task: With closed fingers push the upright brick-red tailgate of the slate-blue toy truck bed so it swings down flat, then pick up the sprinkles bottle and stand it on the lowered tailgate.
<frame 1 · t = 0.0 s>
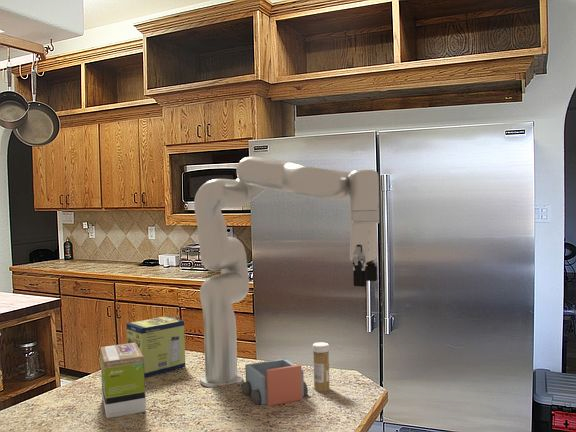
hand: (365, 283, 138), 31 cm above the countertop, tool pointing down, fingers open, 9 cm apart
protein box: (156, 370, 170), on the countertop
tea box: (123, 406, 140), on the countertop
tailgate: (284, 384, 138), point 5 cm above the countertop, hinge at 0.0°
truck bed: (274, 396, 144), on the countertop
sprinkles bottle: (321, 392, 147), on the countertop
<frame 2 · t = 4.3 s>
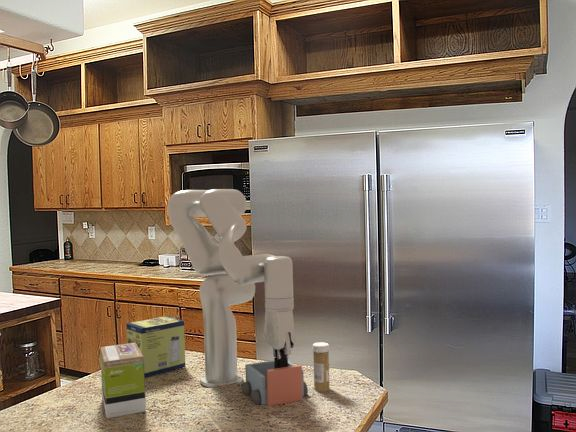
hand: (281, 372, 140), 8 cm above the countertop, tool pointing down, fingers closed
tailgate: (284, 385, 138), point 5 cm above the countertop, hinge at 1.9°, touching gripper
everything else where it was.
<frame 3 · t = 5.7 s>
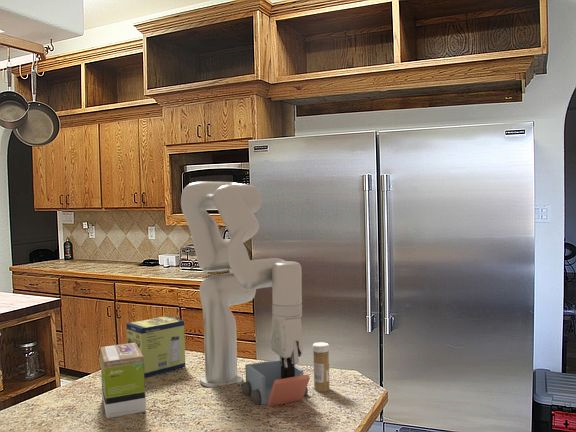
hand: (287, 381, 135), 7 cm above the countertop, tool pointing down, fingers closed
tailgate: (288, 390, 135), point 5 cm above the countertop, hinge at 33.7°, touching gripper
everything else where it was.
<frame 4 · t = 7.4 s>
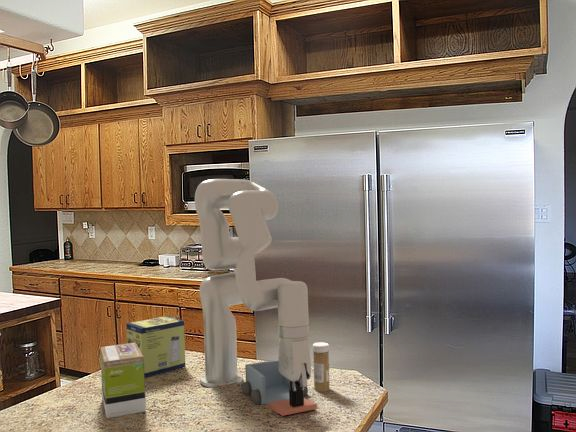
hand: (296, 405, 131), 2 cm above the countertop, tool pointing down, fingers closed
tailgate: (292, 405, 134), point 1 cm above the countertop, hinge at 83.1°, touching gripper
everything else where it was.
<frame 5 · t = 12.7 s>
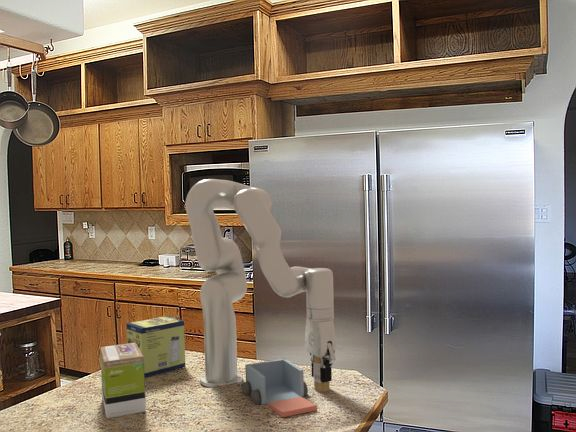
hand: (321, 378, 147), 4 cm above the countertop, tool pointing down, fingers closed on sprinkles bottle, 4 cm apart
tailgate: (292, 406, 134), point 1 cm above the countertop, hinge at 85.5°
sprinkles bottle: (321, 392, 147), on the countertop, touching gripper
everything else where it was.
when the fingers open (6 cm above the countertop, at t = 18.1 s): sprinkles bottle stays where it is, resting on tailgate.
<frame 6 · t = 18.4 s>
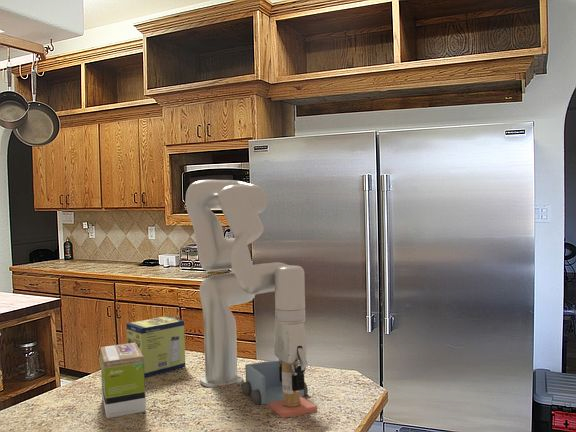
hand: (291, 384, 134), 7 cm above the countertop, tool pointing down, fingers open, 6 cm apart
tailgate: (292, 406, 134), point 1 cm above the countertop, hinge at 86.8°, touching sprinkles bottle
sprinkles bottle: (291, 405, 134), point 1 cm above the countertop, touching tailgate
everything else where it was.
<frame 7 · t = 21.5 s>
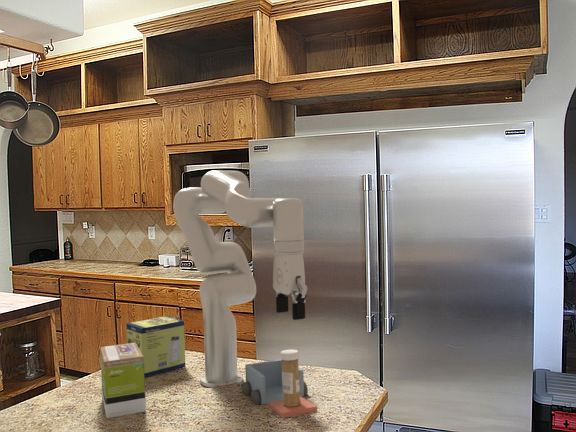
hand: (290, 315, 133), 24 cm above the countertop, tool pointing down, fingers open, 9 cm apart
nothing on the countertop moved.
at the end: tailgate at +87° (first picture: +0°); sprinkles bottle inside the target area (0.8 cm from its centre), point 1.4 cm above the countertop; sprinkles bottle tilted 3° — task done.
